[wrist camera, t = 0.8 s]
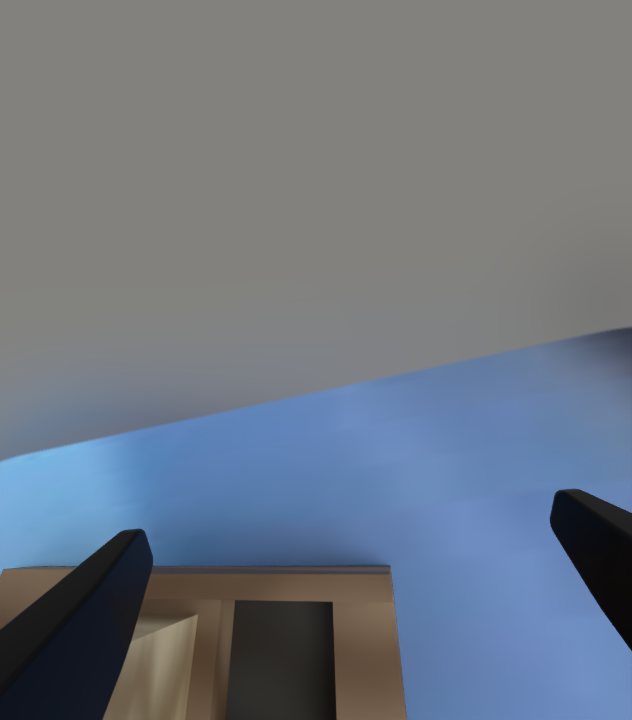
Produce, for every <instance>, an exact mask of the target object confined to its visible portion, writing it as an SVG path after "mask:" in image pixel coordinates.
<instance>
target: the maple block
mask: <svg viewBox="0 0 632 720" xmlns="http://www.w3.org/2000/svg"><path fill="white" fill-rule="evenodd" d="M197 619H198V614H181V613H141V612H140V613H139V616H138V620H137V623H136V627H135V630H134V634H133V637H132V641H131V644H130V647H129V650H128V653H127V656H126V659H125V662H124V665H123V667H122V670H121V673H120V675H119V678H118V681H117V683H116V686H115V689H114V691H113V694H112V696H111V699H110V702H109V704H108V707H107V710H106V712H105V715H104V717H103V720H185V716H186V708H187V700H188V692H189V684H190V675H191V667H192V659H193V651H194V643H195V635H196V627H197Z"/></svg>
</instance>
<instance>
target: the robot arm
mask: <svg viewBox="0 0 632 720" xmlns="http://www.w3.org/2000/svg"><path fill="white" fill-rule="evenodd" d="M550 524H551V528H552V530H553V532H554V534H555V535H556V537H557V539H558V540H559V542H560V543H561V545H562V547H563V548H564V550H565V552H566V553H567V555H568V556H569V558H570V560H571V561H572V563H573V565H574V566H575V568H576V569H577V571H578V573H579V574H580V576H581V578H582V579H583V581H584V582H585V584H586V586H587V587H588V589H589V591H590V592H591V594H592V595H593V597H594V598H595V600H596V601H597V603H598V605H599V606H600V608H601V609H602V610H603V612H604V613H605V615H606V616H607V618H608V619H609V621H610V622H611V623H612V625H613V626H614V627H615V629H616V630H617V632H618V633H619V634H620V636H621V637H622V638H623V640H624V641H625V643H626V644H627V645H628V647H629V648H630V649H631V651H632V513H630V512H628V511H626V510H624V509H621V508H619V507H617V506H615V505H613V504H610V503H608V502H606V501H604V500H602V499H599V498H597V497H595V496H593V495H591V494H589V493H586V492H584V491H582V490H579V489H565V490H559V491H557V492H556V493H555V496H554V501H553V505H552V510H551V515H550ZM152 566H153V556H152V553H151V549H150V546H149V543H148V540H147V536H146V533H145V531H144V530H142V529H131V530H124V531H121V532H120V533H118V534H117V535H116V536H114V537H113V538H112V539H111V540H110V541H108V542H107V543H106V544H105V545H103V546H102V547H101V548H100V549H98V550H97V551H96V552H95V553H94V554H92V555H91V556H90V557H89V558H87V559H86V560H85V561H84V562H82V563H81V564H80V565H79V566H78V567H76V568H75V569H74V570H73V571H71V572H70V573H69V574H68V575H66V576H65V577H64V578H63V579H62V580H60V581H59V582H58V583H57V584H55V585H54V586H53V587H52V588H50V589H49V590H48V591H47V592H46V593H44V594H43V595H42V596H41V597H39V598H38V599H37V600H36V601H34V602H33V603H32V604H31V605H30V606H28V607H27V608H26V609H25V610H23V611H22V612H21V613H20V614H18V615H17V616H16V617H15V618H14V619H12V620H11V621H10V622H9V623H7V624H6V625H5V626H4V627H2V628H1V629H0V720H103V717H104V715H105V712H106V710H107V707H108V704H109V702H110V699H111V696H112V694H113V691H114V689H115V686H116V683H117V681H118V678H119V675H120V673H121V670H122V667H123V665H124V662H125V659H126V656H127V653H128V650H129V647H130V644H131V641H132V637H133V634H134V630H135V627H136V623H137V620H138V616H139V613H140V609H141V606H142V602H143V599H144V595H145V592H146V588H147V585H148V581H149V578H150V574H151V571H152Z"/></svg>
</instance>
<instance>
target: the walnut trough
mask: <svg viewBox="0 0 632 720" xmlns="http://www.w3.org/2000/svg"><path fill="white" fill-rule="evenodd" d="M76 567H78V566H43V567H23V568H12V569H3V571H2V574H1V577H0V629H1V628H2V627H4V626H5V625H6V624H7V623H9V622H10V621H11V620H12V619H14V618H15V617H16V616H17V615H18V614H20V613H21V612H22V611H23V610H25V609H26V608H27V607H28V606H30V605H31V604H32V603H33V602H34V601H36V600H37V599H38V598H39V597H41V596H42V595H43V594H44V593H46V592H47V591H48V590H49V589H50V588H52V587H53V586H54V585H55V584H57V583H58V582H59V581H60V580H62V579H63V578H64V577H65V576H66V575H68V574H69V573H70V572H71V571H73V570H74V569H75V568H76ZM140 612H141V613H181V614H198V619H197V627H196V635H195V643H194V651H193V659H192V667H191V675H190V684H189V692H188V700H187V708H186V716H185V720H407V716H406V707H405V697H404V688H403V679H402V669H401V660H400V650H399V641H398V631H397V622H396V613H395V603H394V594H393V584H392V575H391V566H152V571H151V574H150V578H149V581H148V585H147V588H146V592H145V595H144V599H143V602H142V606H141V609H140Z"/></svg>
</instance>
